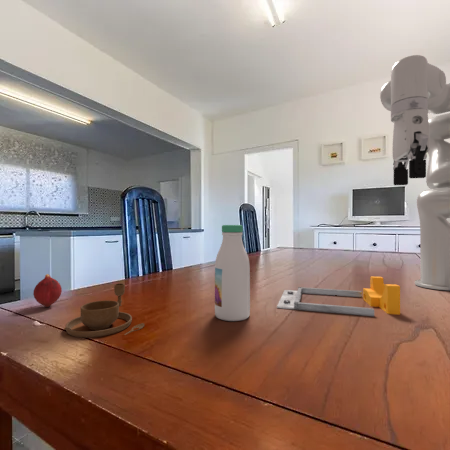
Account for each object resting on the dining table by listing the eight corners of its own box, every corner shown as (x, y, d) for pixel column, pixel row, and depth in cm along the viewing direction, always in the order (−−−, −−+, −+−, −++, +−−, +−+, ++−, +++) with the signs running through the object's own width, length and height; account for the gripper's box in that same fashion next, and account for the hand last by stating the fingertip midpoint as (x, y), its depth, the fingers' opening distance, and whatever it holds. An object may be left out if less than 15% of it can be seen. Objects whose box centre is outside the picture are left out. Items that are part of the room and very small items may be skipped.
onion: (66, 305, 70) (66, 273, 70) (43, 311, 65) (43, 277, 65) (51, 302, 72) (51, 271, 72) (28, 308, 67) (28, 275, 67)
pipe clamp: (363, 300, 75) (363, 276, 75) (380, 301, 74) (380, 276, 74) (379, 314, 63) (379, 285, 63) (400, 315, 62) (400, 286, 62)
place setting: (39, 333, 53) (39, 302, 53) (117, 305, 72) (117, 282, 72) (110, 348, 47) (110, 313, 47) (175, 313, 65) (175, 288, 65)
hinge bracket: (284, 291, 84) (284, 286, 84) (361, 296, 78) (361, 291, 78) (276, 307, 67) (276, 301, 67) (374, 316, 61) (374, 309, 61)
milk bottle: (253, 312, 64) (253, 224, 64) (244, 323, 56) (244, 224, 56) (221, 309, 66) (221, 224, 66) (209, 319, 59) (209, 224, 59)
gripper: (445, 93, 59) (445, 174, 59) (411, 123, 76) (410, 186, 75) (405, 96, 61) (405, 175, 60) (380, 125, 77) (380, 187, 77)
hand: (408, 181), depth 68 cm, fingers open, 9 cm apart
